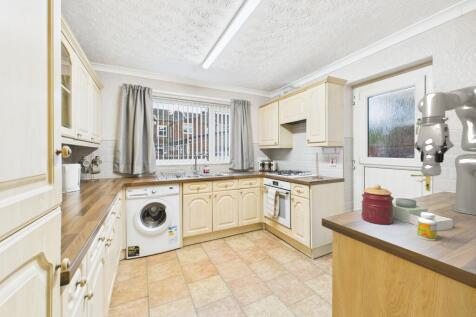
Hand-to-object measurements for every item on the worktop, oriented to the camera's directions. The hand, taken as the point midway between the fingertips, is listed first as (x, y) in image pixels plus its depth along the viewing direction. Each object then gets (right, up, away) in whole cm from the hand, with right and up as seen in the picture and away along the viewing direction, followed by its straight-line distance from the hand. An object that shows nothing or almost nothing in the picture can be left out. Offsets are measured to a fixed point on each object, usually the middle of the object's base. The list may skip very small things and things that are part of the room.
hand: (431, 161), depth 93 cm
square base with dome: (-1, -29, +7) cm, 30 cm away
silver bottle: (0, -7, 0) cm, 7 cm away
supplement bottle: (-13, -30, -12) cm, 35 cm away
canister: (-19, -29, +8) cm, 36 cm away
